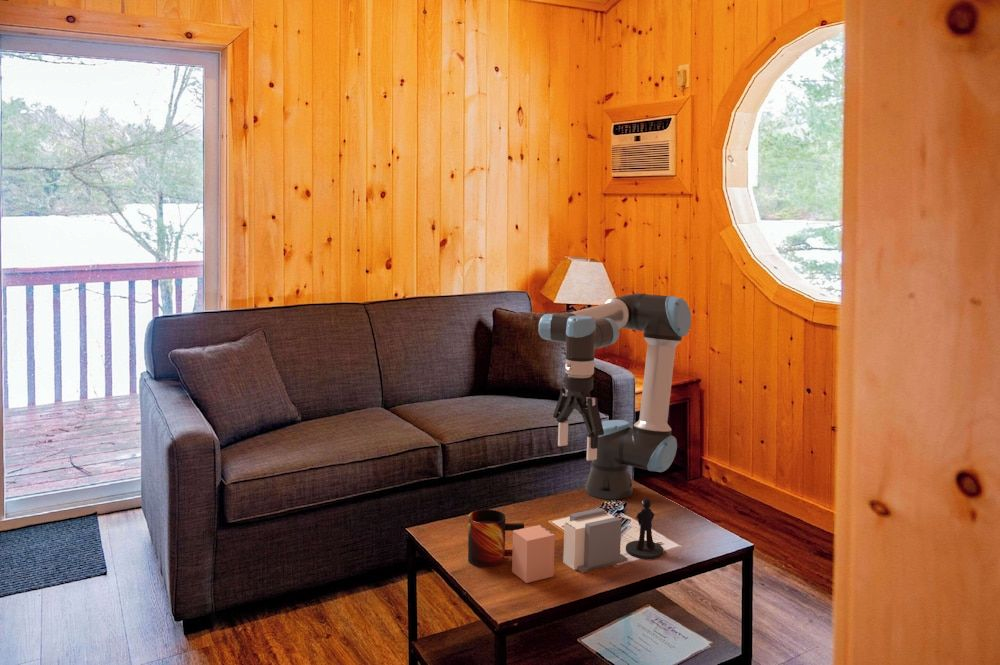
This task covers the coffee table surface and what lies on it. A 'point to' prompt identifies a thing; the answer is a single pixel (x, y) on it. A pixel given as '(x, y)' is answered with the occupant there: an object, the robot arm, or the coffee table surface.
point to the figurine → (646, 547)
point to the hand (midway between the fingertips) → (576, 452)
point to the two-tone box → (592, 540)
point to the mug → (488, 538)
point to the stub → (533, 553)
